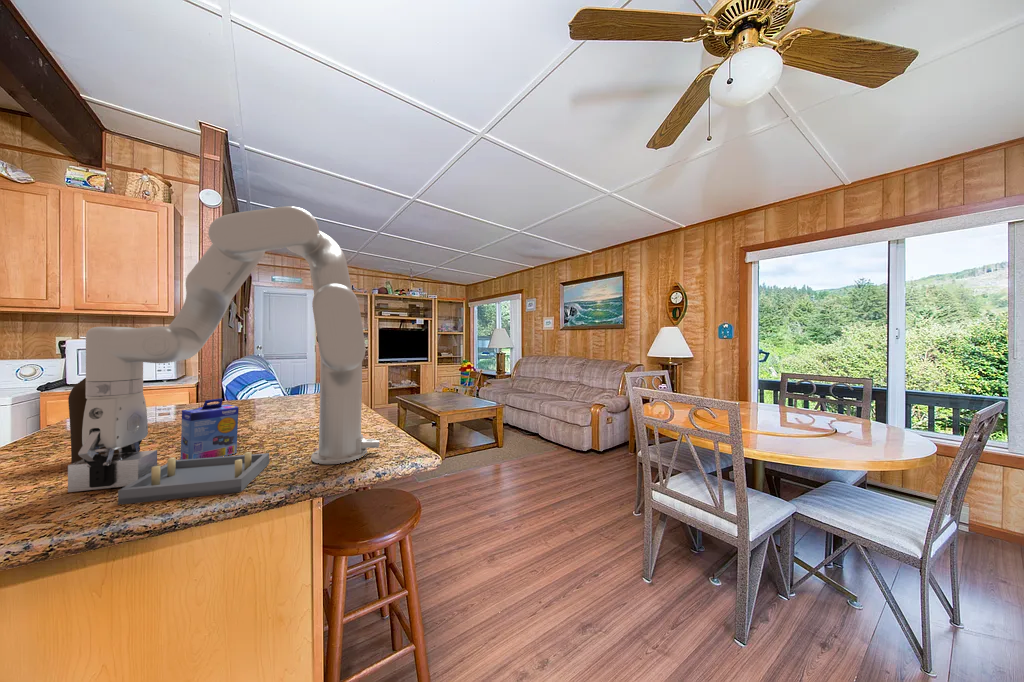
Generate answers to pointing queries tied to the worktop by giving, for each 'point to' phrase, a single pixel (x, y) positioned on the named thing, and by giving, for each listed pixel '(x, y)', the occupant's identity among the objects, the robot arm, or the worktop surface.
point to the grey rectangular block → (125, 470)
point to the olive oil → (78, 419)
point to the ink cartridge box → (209, 431)
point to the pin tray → (195, 478)
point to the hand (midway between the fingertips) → (115, 478)
